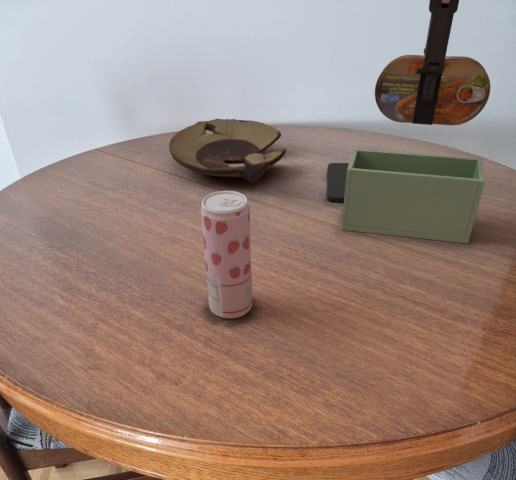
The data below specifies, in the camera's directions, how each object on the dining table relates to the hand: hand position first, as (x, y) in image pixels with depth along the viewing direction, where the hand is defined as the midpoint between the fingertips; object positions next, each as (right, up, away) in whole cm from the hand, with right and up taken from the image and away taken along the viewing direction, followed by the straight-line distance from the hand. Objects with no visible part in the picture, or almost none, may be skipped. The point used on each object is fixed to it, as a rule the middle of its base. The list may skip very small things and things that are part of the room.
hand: (422, 119), depth 77 cm
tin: (0, 0, 0) cm, 1 cm away
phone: (-7, -3, +22) cm, 24 cm away
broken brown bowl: (-29, +1, +28) cm, 40 cm away
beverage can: (-27, -27, -6) cm, 39 cm away
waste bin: (0, -13, +11) cm, 17 cm away
